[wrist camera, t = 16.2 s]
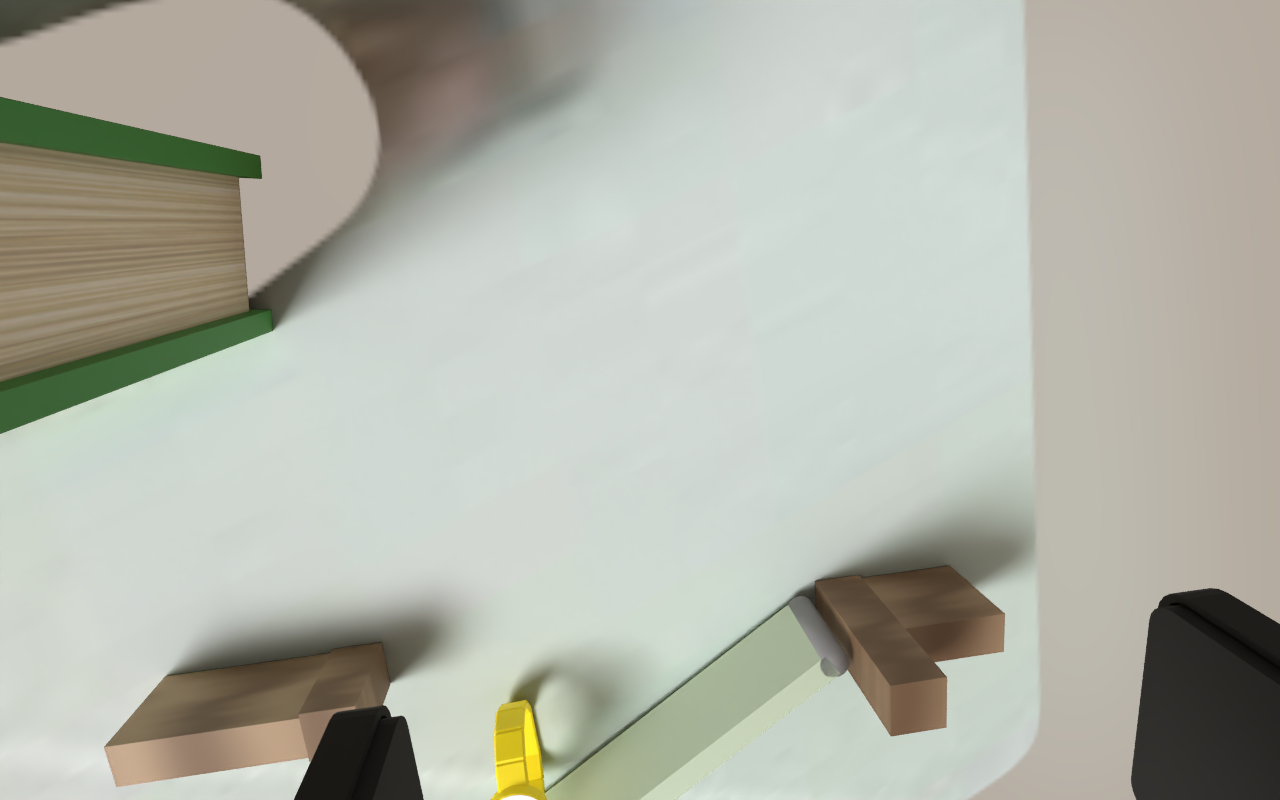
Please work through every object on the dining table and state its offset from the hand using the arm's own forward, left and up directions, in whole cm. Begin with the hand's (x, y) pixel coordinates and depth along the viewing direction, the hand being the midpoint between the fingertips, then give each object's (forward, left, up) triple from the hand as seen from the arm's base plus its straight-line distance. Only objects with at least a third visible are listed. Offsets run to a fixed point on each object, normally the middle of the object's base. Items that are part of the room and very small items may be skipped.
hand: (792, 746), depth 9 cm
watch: (+7, +19, -27) cm, 34 cm away
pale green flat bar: (0, +20, -26) cm, 33 cm away
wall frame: (+4, +14, -26) cm, 30 cm away
